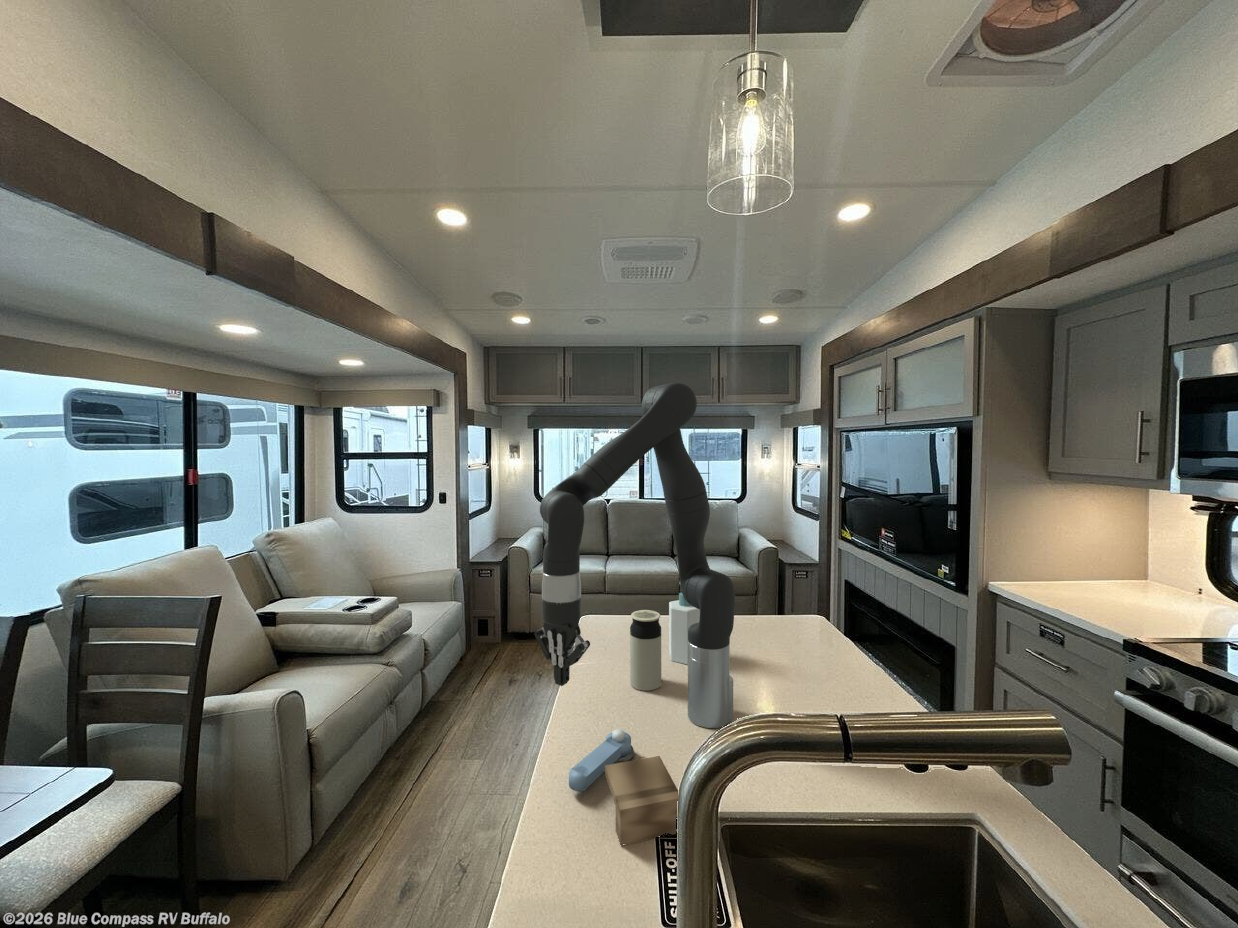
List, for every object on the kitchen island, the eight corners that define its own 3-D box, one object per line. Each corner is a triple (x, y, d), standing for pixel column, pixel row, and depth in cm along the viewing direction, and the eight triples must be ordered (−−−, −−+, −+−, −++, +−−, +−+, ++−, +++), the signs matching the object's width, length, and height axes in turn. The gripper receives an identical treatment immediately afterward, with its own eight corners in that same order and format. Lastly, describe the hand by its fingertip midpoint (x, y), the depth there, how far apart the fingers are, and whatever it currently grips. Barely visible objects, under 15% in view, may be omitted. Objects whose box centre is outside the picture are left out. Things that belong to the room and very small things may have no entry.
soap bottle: (704, 665, 132) (704, 586, 131) (671, 664, 132) (671, 586, 132) (698, 649, 142) (699, 577, 142) (668, 649, 143) (668, 576, 142)
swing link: (615, 737, 97) (615, 722, 96) (636, 746, 94) (636, 730, 94) (561, 783, 83) (561, 765, 83) (583, 795, 80) (583, 777, 80)
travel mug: (659, 693, 117) (659, 621, 116) (627, 690, 119) (627, 618, 118) (662, 677, 125) (662, 610, 124) (633, 675, 126) (633, 608, 126)
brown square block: (659, 786, 85) (659, 755, 84) (681, 832, 74) (681, 797, 74) (605, 796, 82) (604, 765, 82) (620, 845, 72) (620, 809, 72)
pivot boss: (628, 744, 97) (628, 738, 97) (637, 763, 91) (637, 757, 91) (600, 749, 95) (600, 743, 95) (607, 768, 89) (607, 762, 89)
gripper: (600, 596, 91) (600, 685, 91) (550, 584, 98) (550, 667, 99) (574, 606, 84) (574, 702, 85) (523, 593, 92) (523, 681, 93)
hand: (561, 683), depth 92 cm, fingers closed
